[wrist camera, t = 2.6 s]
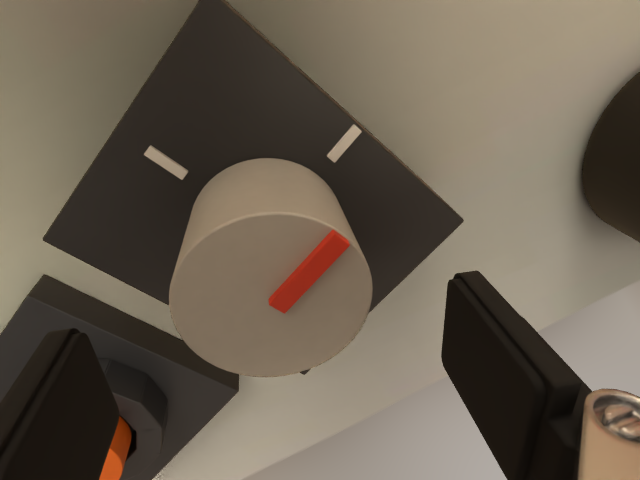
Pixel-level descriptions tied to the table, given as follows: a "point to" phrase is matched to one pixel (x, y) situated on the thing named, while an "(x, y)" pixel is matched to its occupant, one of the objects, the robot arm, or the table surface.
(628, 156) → the mug
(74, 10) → the table surface
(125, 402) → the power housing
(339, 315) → the knob
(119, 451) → the power button
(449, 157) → the table surface
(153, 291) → the panel
